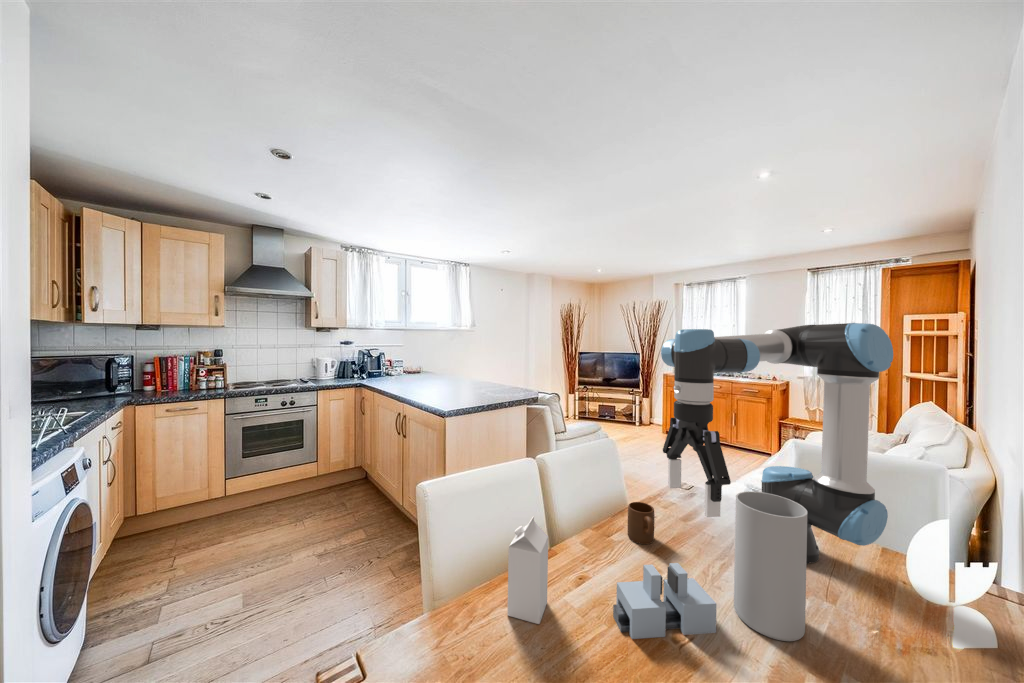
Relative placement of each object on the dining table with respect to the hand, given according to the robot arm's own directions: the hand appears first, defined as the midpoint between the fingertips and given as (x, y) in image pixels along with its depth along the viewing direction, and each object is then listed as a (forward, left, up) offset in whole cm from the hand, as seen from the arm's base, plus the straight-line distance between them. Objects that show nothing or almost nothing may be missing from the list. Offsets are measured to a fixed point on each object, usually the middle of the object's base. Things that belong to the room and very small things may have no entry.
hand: (691, 500), depth 78 cm
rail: (+6, -1, -25) cm, 26 cm away
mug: (-4, -30, -26) cm, 39 cm away
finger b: (0, -1, -25) cm, 25 cm away
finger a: (+11, -1, -25) cm, 28 cm away
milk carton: (+34, -6, -26) cm, 43 cm away
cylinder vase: (-17, +1, -26) cm, 31 cm away
